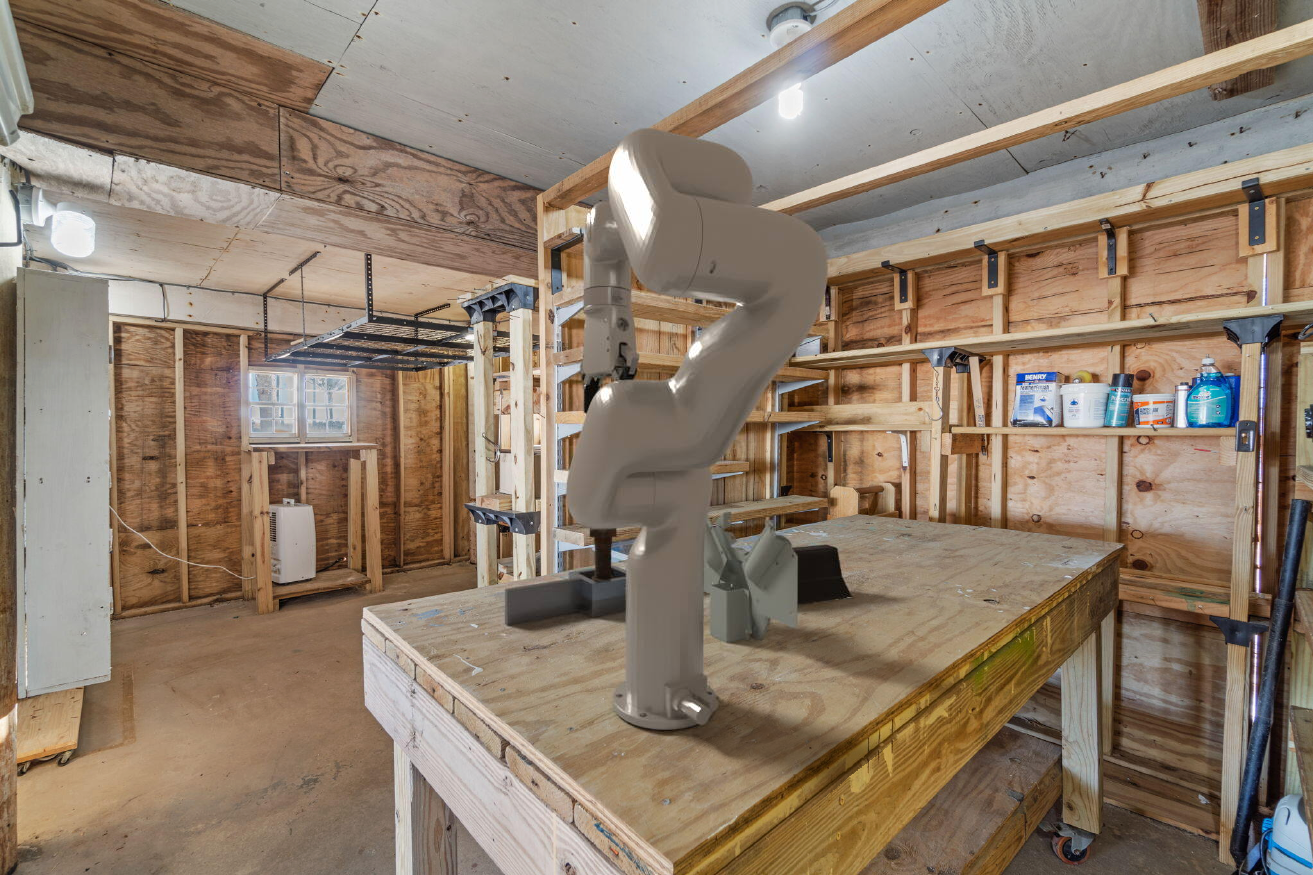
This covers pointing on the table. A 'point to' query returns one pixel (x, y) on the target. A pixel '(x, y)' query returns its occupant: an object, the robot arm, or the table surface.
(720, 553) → the bracket
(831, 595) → the barrier
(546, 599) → the grey square socket holder
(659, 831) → the table surface
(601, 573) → the bolt
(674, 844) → the table surface
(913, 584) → the table surface
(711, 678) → the table surface
